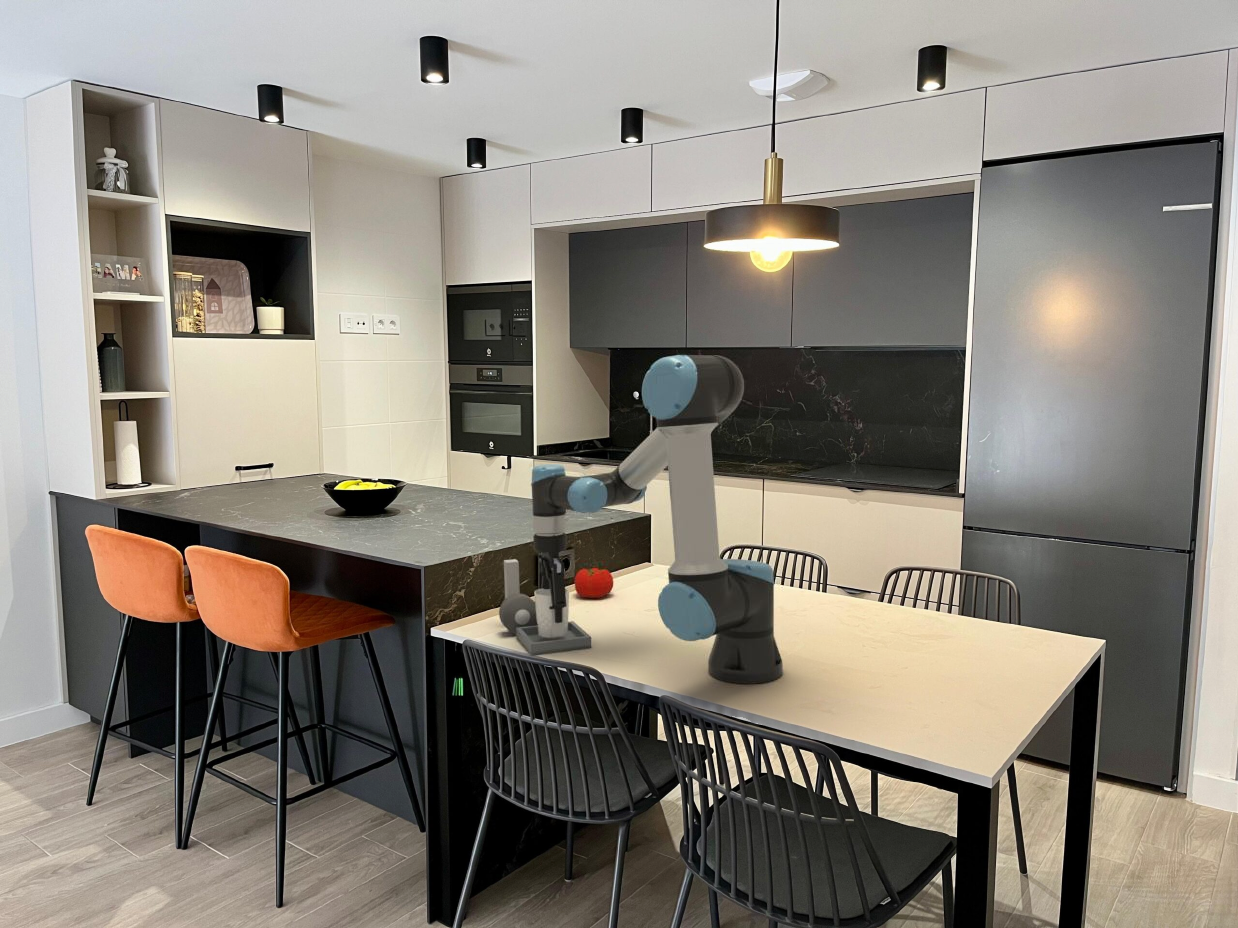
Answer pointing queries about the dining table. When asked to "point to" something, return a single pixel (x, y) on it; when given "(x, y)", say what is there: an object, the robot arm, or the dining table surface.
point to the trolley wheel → (515, 601)
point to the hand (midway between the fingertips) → (552, 630)
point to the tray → (553, 640)
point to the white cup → (548, 612)
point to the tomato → (593, 583)
